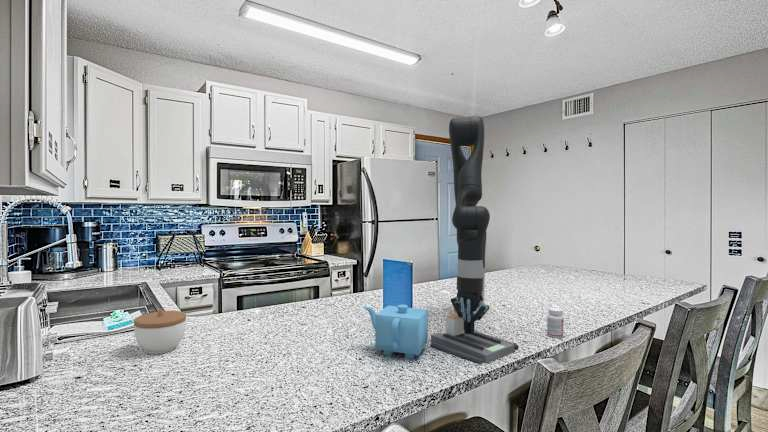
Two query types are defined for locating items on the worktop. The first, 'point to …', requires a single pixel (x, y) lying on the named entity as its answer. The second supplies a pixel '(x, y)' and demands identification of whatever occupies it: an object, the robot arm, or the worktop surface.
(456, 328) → the grey orange rectangular block
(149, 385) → the worktop surface
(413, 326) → the teapot
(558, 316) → the pill bottle
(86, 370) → the worktop surface
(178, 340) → the lidded bowl
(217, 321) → the worktop surface
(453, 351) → the cord
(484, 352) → the panel
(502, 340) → the dark grey rod
